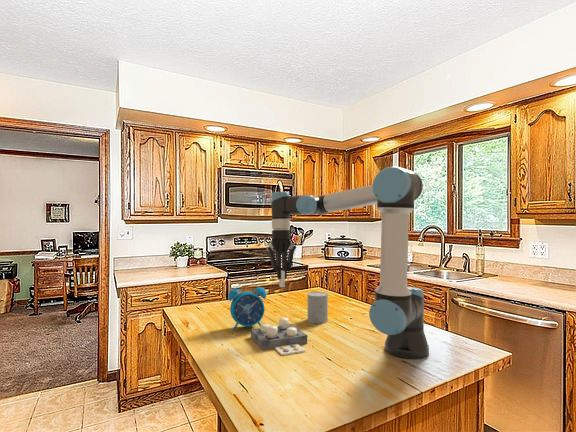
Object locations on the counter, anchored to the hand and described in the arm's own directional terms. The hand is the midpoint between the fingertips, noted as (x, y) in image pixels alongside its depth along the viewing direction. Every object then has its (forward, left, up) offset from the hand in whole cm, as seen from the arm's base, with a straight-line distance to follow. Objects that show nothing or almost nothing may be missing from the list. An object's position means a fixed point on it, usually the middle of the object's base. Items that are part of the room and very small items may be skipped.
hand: (282, 286), depth 145 cm
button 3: (-2, 0, -17) cm, 17 cm away
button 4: (-10, 0, -18) cm, 21 cm away
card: (-17, +4, -20) cm, 26 cm away
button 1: (-2, +8, -18) cm, 20 cm away
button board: (-6, +4, -20) cm, 21 cm away
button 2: (-10, +8, -17) cm, 21 cm away
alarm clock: (+13, +11, -20) cm, 26 cm away
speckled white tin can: (+11, -22, -20) cm, 32 cm away
